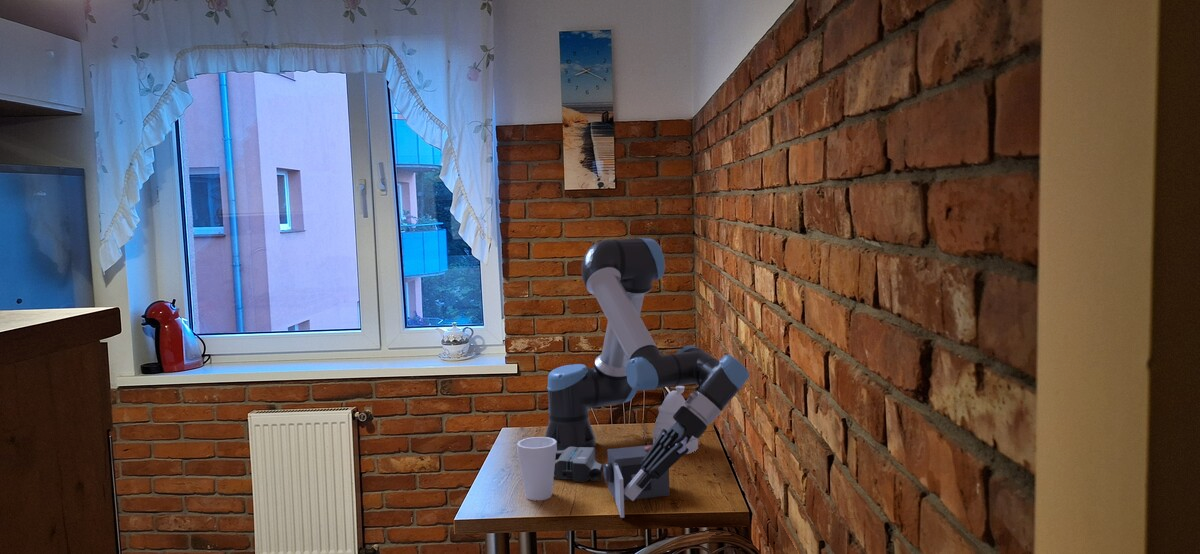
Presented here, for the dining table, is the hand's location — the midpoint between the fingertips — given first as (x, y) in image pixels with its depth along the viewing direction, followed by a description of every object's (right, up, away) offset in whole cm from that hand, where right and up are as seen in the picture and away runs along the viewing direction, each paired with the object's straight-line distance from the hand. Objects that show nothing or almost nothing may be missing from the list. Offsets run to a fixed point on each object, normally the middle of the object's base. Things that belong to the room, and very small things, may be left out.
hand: (627, 496), depth 162 cm
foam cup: (-21, -4, +13) cm, 25 cm away
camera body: (+3, -3, +13) cm, 14 cm away
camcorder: (-14, -3, +30) cm, 33 cm away
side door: (-2, -4, +2) cm, 5 cm away
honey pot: (+16, -1, +48) cm, 50 cm away
